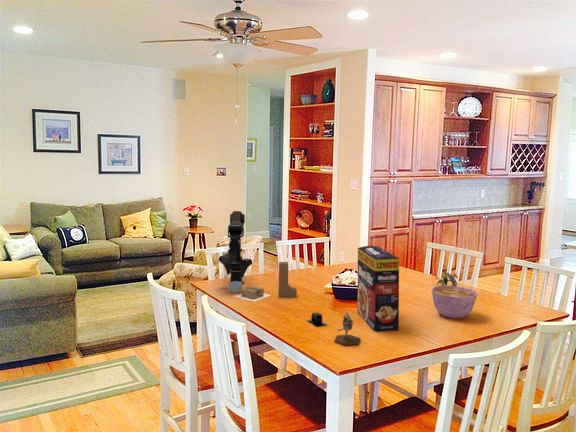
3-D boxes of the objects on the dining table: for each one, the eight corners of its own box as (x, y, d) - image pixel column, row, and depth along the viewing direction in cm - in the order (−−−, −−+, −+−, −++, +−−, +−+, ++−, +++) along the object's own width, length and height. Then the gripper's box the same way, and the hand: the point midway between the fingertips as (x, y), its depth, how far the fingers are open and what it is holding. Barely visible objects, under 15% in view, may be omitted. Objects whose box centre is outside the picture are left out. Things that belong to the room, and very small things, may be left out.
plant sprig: (453, 298, 278) (462, 284, 270) (434, 294, 277) (443, 280, 269) (450, 282, 286) (459, 269, 278) (432, 279, 286) (440, 265, 278)
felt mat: (249, 291, 264) (249, 290, 264) (271, 295, 256) (271, 295, 256) (232, 297, 252) (232, 296, 252) (254, 302, 244) (254, 301, 244)
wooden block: (295, 296, 257) (296, 261, 254) (296, 298, 252) (297, 263, 250) (278, 296, 256) (278, 261, 254) (278, 298, 251) (279, 263, 249)
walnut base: (251, 293, 258) (251, 285, 258) (263, 296, 254) (263, 288, 253) (241, 296, 252) (241, 289, 251) (253, 299, 247) (253, 291, 247)
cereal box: (356, 312, 232) (356, 244, 228) (379, 311, 233) (380, 243, 229) (374, 333, 206) (374, 257, 201) (400, 331, 207) (401, 255, 203)
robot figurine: (338, 335, 202) (339, 306, 200) (361, 338, 199) (362, 308, 197) (332, 344, 191) (333, 314, 190) (357, 348, 188) (358, 317, 187)
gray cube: (234, 289, 266) (234, 280, 266) (241, 291, 264) (241, 282, 263) (228, 291, 262) (228, 282, 262) (235, 293, 260) (235, 284, 259)
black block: (331, 327, 212) (331, 316, 212) (317, 329, 209) (317, 319, 208) (315, 318, 223) (315, 308, 222) (301, 321, 219) (301, 311, 219)
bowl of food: (421, 311, 234) (422, 287, 233) (454, 307, 242) (455, 284, 241) (450, 325, 216) (452, 299, 215) (485, 319, 224) (487, 294, 223)
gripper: (211, 247, 259) (211, 276, 261) (239, 251, 248) (239, 282, 250) (225, 244, 268) (225, 272, 270) (253, 248, 258) (252, 278, 260)
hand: (235, 276), depth 262 cm, fingers open, 9 cm apart
